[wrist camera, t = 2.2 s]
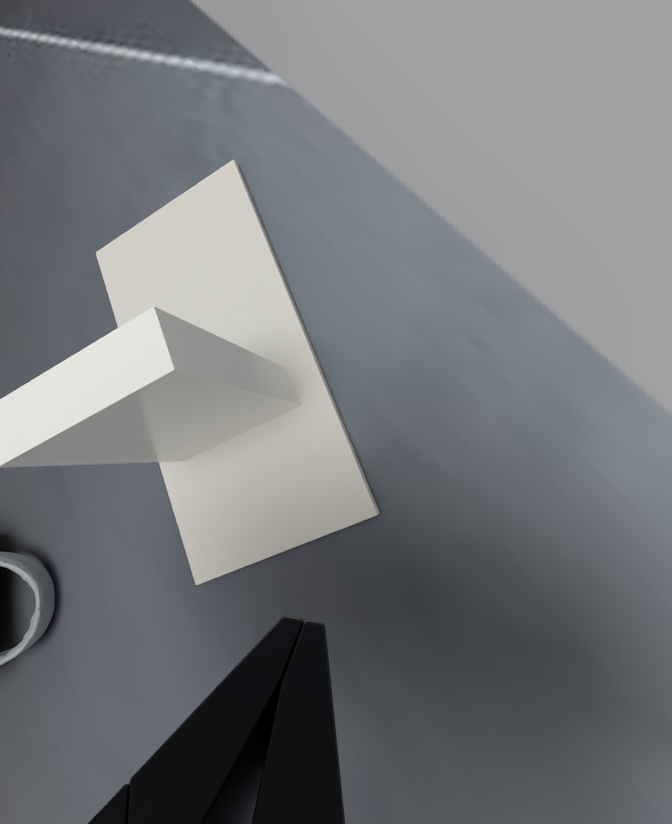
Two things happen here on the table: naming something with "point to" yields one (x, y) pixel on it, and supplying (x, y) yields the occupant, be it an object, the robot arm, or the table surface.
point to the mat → (263, 335)
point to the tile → (142, 398)
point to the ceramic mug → (43, 594)
